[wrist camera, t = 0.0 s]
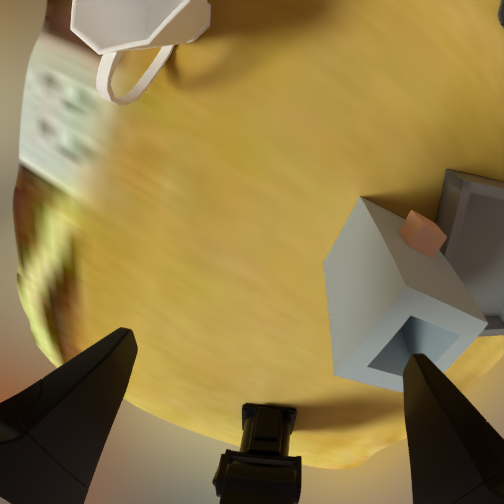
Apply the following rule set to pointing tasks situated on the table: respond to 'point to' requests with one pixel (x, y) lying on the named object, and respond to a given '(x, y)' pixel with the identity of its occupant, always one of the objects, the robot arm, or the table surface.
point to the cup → (136, 34)
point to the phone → (501, 13)
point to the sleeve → (394, 297)
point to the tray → (476, 240)
